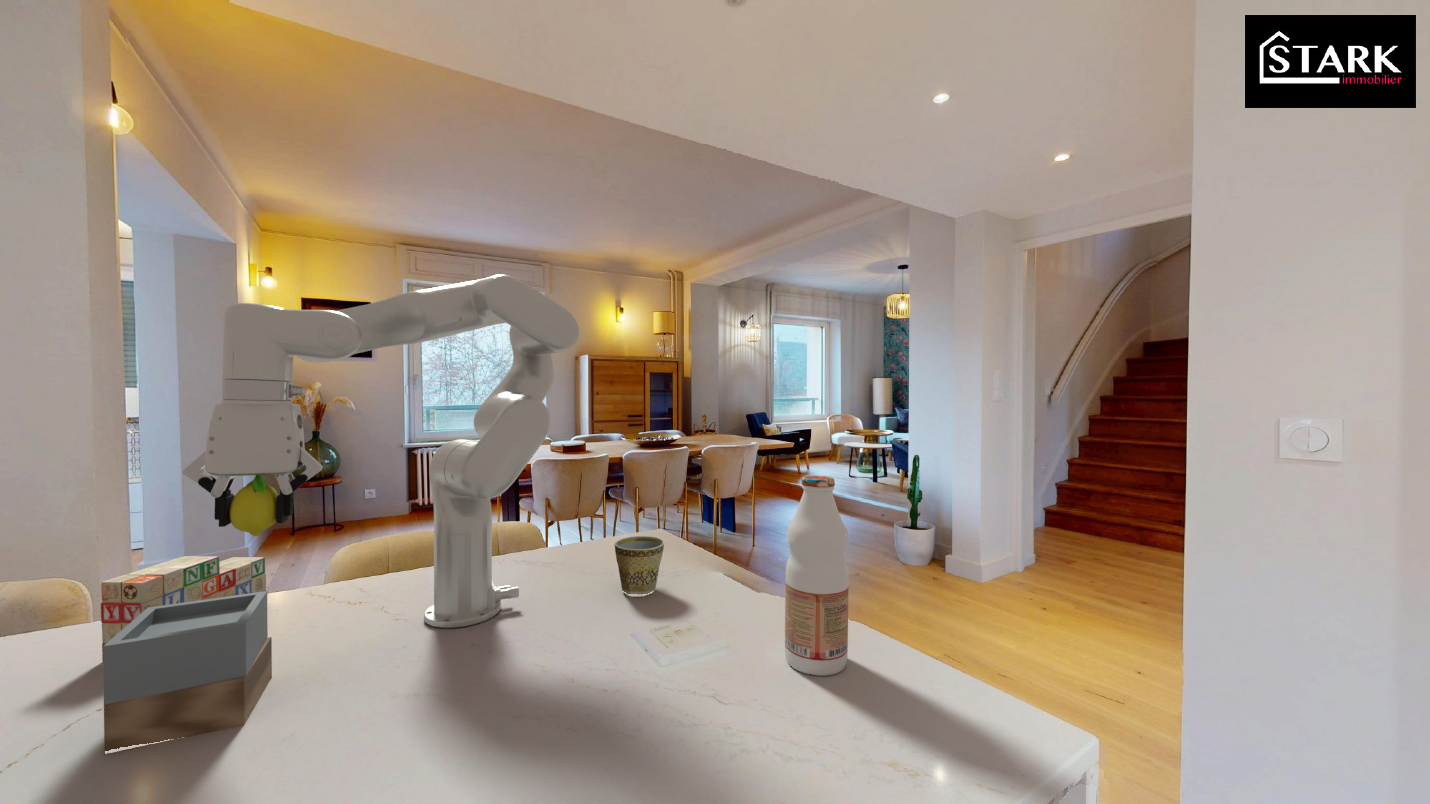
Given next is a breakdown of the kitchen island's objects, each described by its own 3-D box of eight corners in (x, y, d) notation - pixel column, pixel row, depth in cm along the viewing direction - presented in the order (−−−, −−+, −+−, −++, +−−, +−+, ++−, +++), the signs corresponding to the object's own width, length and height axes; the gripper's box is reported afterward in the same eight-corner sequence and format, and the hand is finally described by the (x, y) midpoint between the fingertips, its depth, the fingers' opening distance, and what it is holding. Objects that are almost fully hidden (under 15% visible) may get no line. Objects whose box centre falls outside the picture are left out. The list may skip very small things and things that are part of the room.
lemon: (265, 542, 72) (266, 468, 72) (214, 543, 71) (216, 467, 71) (293, 530, 79) (295, 462, 79) (248, 530, 78) (250, 462, 78)
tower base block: (271, 679, 75) (271, 637, 75) (244, 726, 65) (244, 677, 65) (155, 701, 70) (154, 655, 70) (104, 757, 59) (103, 703, 59)
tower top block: (267, 636, 75) (267, 590, 75) (246, 676, 65) (245, 623, 65) (148, 657, 69) (147, 607, 69) (103, 704, 59) (103, 646, 59)
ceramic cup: (660, 601, 104) (661, 550, 104) (609, 600, 104) (609, 549, 104) (667, 578, 117) (668, 532, 117) (622, 577, 117) (622, 531, 117)
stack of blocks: (234, 605, 100) (233, 540, 100) (267, 606, 100) (266, 540, 100) (100, 663, 79) (99, 580, 79) (142, 664, 79) (141, 581, 79)
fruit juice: (780, 672, 78) (783, 480, 77) (788, 643, 87) (790, 471, 87) (847, 681, 76) (850, 484, 75) (847, 650, 85) (850, 474, 84)
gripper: (337, 395, 82) (334, 513, 82) (189, 391, 75) (185, 521, 75) (326, 395, 75) (323, 524, 75) (162, 391, 68) (158, 534, 68)
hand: (254, 521), depth 75 cm, fingers closed on lemon, 5 cm apart
